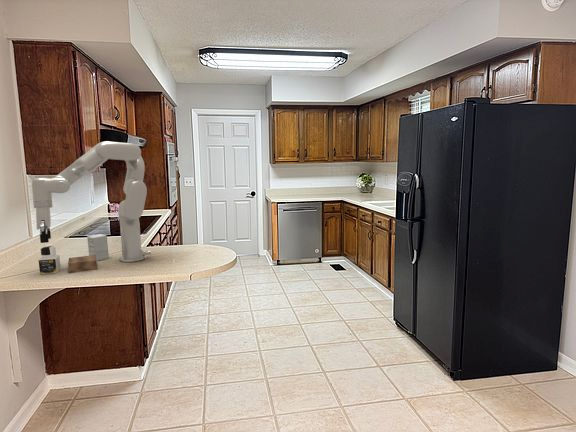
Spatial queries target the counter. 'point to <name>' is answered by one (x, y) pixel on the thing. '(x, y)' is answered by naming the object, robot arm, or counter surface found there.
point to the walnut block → (82, 264)
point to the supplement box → (98, 246)
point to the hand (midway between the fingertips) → (45, 240)
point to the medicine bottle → (49, 260)
